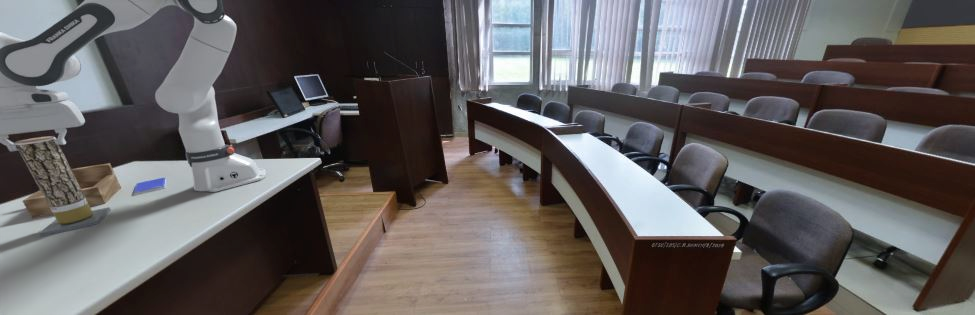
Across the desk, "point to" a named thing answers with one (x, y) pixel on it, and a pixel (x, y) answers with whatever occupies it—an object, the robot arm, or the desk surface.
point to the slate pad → (75, 223)
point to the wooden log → (55, 179)
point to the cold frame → (93, 183)
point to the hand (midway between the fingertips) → (39, 147)
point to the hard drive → (150, 186)
